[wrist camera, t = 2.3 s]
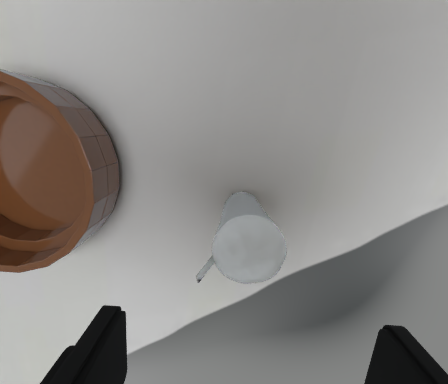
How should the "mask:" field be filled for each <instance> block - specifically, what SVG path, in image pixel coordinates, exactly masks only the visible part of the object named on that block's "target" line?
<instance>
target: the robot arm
mask: <svg viewBox="0 0 448 384" xmlns="http://www.w3.org/2000/svg"><path fill="white" fill-rule="evenodd" d="M126 373H127V346H126V313H125V311H121V307H119V306H106V305H104V306H103V307H102V308H101V309H100V311H99V312H98V313H97V315H96V316H95V318H94V319H93V321H92V322H91V323H90V325H89V326H88V328H87V329H86V331H85V332H84V333H83V335H82V336H81V338H80V339H79V341H78V342H77V343H76V345H75V346H69V347H68V348H66V349H65V351H64V352H63V353H62V354H61V356H60V357H59V358H58V360H57V361H56V362H55V364H54V365H53V367H52V368H51V369H50V371H49V372H48V373H47V375H46V376H45V377H44V379H43V380H42V382H41V383H40V384H124V381H125V378H126ZM364 384H448V374H447V373H446V372H445V371H444V370H443V369H442V368H441V367H440V366H439V364H438V363H437V362H436V361H435V360H434V359H433V358H432V357H431V356H430V355H429V354H428V352H427V351H426V350H425V349H424V348H423V347H422V346H421V345H420V343H419V342H417V340H416V339H415V338H414V337H413V336H412V335H411V334H410V332H409V331H408V330H407V329H406V328H405V327H402V326H393V325H385V326H384V327H383V328H382V329H380V330H379V332H378V336H377V340H376V343H375V347H374V351H373V354H372V358H371V362H370V365H369V369H368V372H367V376H366V379H365V383H364Z"/></svg>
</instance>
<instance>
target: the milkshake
mask: <svg viewBox="0 0 448 384" xmlns="http://www.w3.org/2000/svg"><path fill="white" fill-rule="evenodd" d="M285 257H286V242H285V238H284V236H283V234H282V232H281V230H280V229H279V228H278V227H277V225H276V224H275V223H274V222H273V220H272V219H271V218H270V217H269V216H268V214H267V213H266V212H265V211H264V209H263V208H262V207H261V205H260V204H259V202H258V201H257V199H256V198H255V196H254V195H251V194H249V193H246V192H244V191H242V192H238V193H234V194H232V195H231V196H230V197H229V198H228V199H227V200H226V202H225V204H224V208H223V212H222V216H221V219H220V223H219V226H218V229H217V232H216V234H215V237H214V239H213V243H212V257H211V258H210V259H209V260H208V262H207V263H206V264H205V265H204V267H203V268H202V269H201V270H200V272H199V273H198V274H197V276H196V279H197V282H198V283H199V282H200V281H201V279H202V278H203V277H204V275H205V274H206V273H207V271H208V270H209V269H210V267H211V266H212V265H213V263H214V262H215V264H216V266H217V268H218V269H219V271H220V272H221V273H222V274H223V275H224V276H226V277H227V278H229V279H231V280H233V281H236V282H239V283H244V284H249V283H257V282H263V281H266V280H268V279H270V278H272V277H273V276H275V275H276V274H277V272H278V271H279V270H280V268H281V266H282V264H283V262H284V260H285Z"/></svg>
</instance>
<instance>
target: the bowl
mask: <svg viewBox="0 0 448 384" xmlns="http://www.w3.org/2000/svg"><path fill="white" fill-rule="evenodd" d="M118 162H119V161H118V158H117V156H116V153H115V150H114V147H113V144H112V142H111V139H110V136H109V135H108V133H107V132H106V130H105V129H104V127H103V126H102V125H101V123H100V122H99V120H98V119H97V118H96V116H95V115H94V114H93V112H92V111H91V109H89V108H88V107H87V106H86V105H84V104H83V103H82V102H81V101H79V100H78V99H77V98H76V97H74V96H73V95H72V94H71V93H69V92H68V91H67V90H65V89H63V88H60V87H58V86H55V85H53V84H50V83H48V82H46V81H43V80H41V79H38V78H34V77H30V76H26V75H22V74H18V73H14V72H10V71H6V70H2V69H0V271H3V272H17V273H19V272H25V271H29V270H34V269H38V268H43V267H47V266H49V265H51V264H52V263H54V262H56V261H57V260H59V259H61V258H62V257H64V256H65V255H67V254H69V253H70V252H71V251H73V250H74V249H75V248H76V247H78V246H79V245H80V244H81V243H82V242H84V241H85V240H86V239H87V238H89V237H90V236H91V235H92V234H94V233H95V232H96V231H97V230H98V229H99V228H100V227H101V226H102V224H103V223H104V222H105V221H106V219H107V218H108V217H109V215H110V214H111V213H112V211H113V208H114V205H115V201H116V198H117V195H118V192H119V163H118Z"/></svg>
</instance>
